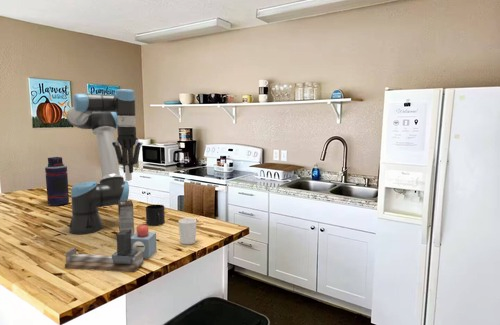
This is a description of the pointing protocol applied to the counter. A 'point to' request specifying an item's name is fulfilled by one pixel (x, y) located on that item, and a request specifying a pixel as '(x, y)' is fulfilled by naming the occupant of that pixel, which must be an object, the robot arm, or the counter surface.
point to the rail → (100, 262)
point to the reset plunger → (142, 230)
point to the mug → (155, 215)
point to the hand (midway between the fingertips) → (128, 180)
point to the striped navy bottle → (56, 182)
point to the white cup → (187, 230)
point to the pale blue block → (144, 244)
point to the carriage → (124, 248)
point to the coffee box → (126, 216)
